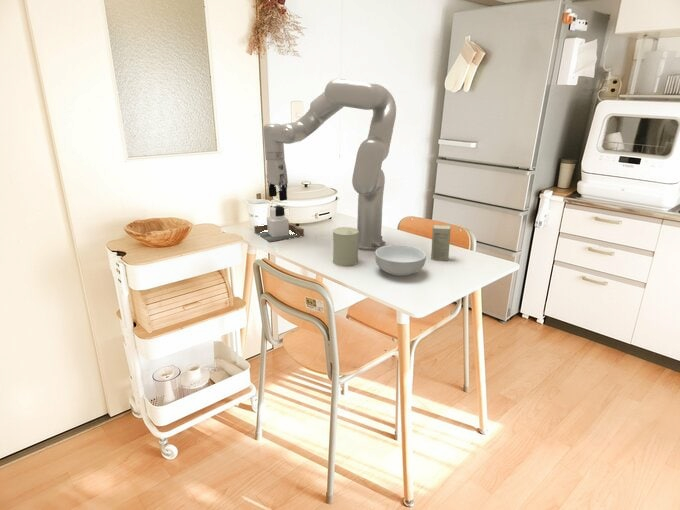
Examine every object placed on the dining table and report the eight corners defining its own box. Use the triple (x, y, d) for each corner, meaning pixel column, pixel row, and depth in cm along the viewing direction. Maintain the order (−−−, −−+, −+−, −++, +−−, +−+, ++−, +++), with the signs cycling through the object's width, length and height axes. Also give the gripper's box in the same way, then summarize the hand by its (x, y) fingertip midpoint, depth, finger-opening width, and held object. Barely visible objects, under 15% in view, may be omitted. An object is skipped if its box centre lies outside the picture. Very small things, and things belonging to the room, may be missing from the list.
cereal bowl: (364, 272, 149) (365, 252, 147) (393, 259, 161) (394, 241, 158) (406, 286, 139) (407, 265, 136) (433, 271, 150) (435, 252, 148)
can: (342, 268, 153) (343, 235, 148) (327, 260, 160) (327, 228, 155) (363, 262, 158) (364, 230, 154) (347, 255, 165) (348, 224, 161)
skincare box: (448, 257, 163) (451, 225, 159) (448, 261, 159) (451, 229, 155) (431, 255, 165) (433, 224, 161) (430, 259, 161) (432, 227, 157)
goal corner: (303, 236, 186) (303, 229, 185) (269, 242, 178) (269, 235, 177) (287, 227, 198) (286, 220, 197) (254, 232, 190) (254, 226, 189)
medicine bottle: (283, 231, 192) (282, 204, 187) (289, 235, 186) (288, 207, 182) (267, 233, 188) (266, 206, 184) (272, 237, 183) (271, 209, 178)
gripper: (293, 157, 171) (296, 200, 176) (274, 153, 184) (277, 193, 190) (275, 158, 167) (279, 203, 173) (257, 155, 181) (261, 196, 186)
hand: (278, 198), depth 181 cm, fingers open, 9 cm apart
